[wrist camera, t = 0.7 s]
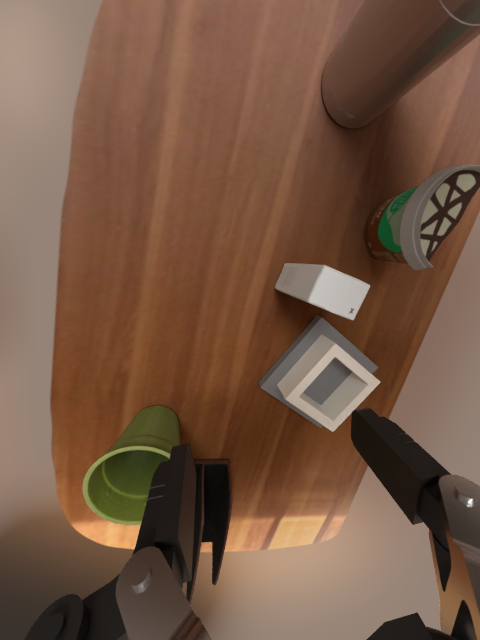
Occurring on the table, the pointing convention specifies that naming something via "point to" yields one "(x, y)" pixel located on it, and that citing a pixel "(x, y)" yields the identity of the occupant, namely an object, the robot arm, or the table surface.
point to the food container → (421, 217)
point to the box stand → (321, 376)
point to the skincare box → (323, 288)
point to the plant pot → (131, 466)
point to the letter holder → (211, 513)
